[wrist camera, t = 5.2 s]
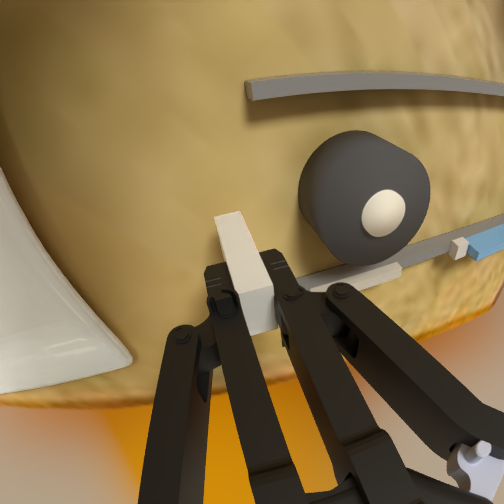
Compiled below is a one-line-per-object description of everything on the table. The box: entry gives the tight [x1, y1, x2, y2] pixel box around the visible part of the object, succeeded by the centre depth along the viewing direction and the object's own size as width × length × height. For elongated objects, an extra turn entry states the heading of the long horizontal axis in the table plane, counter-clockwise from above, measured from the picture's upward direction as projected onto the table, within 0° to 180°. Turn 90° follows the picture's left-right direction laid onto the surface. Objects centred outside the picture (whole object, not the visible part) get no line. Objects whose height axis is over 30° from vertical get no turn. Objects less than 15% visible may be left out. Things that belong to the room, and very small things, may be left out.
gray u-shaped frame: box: [245, 71, 504, 292], centre depth 21 cm, size 32×16×4 cm, turn 98°
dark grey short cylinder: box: [298, 130, 430, 266], centre depth 19 cm, size 8×8×4 cm
